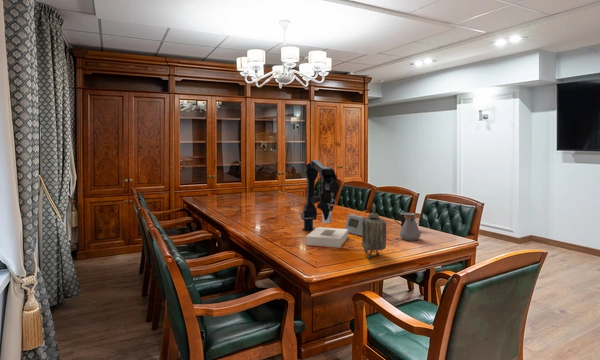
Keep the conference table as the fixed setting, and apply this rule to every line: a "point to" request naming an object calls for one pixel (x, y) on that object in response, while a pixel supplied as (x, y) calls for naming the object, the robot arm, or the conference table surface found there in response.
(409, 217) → the coffee pot
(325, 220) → the light grey rectangular block
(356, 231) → the digital clock
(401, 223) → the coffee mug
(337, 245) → the slot board
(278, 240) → the conference table surface
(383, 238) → the shaggy robed figurine
